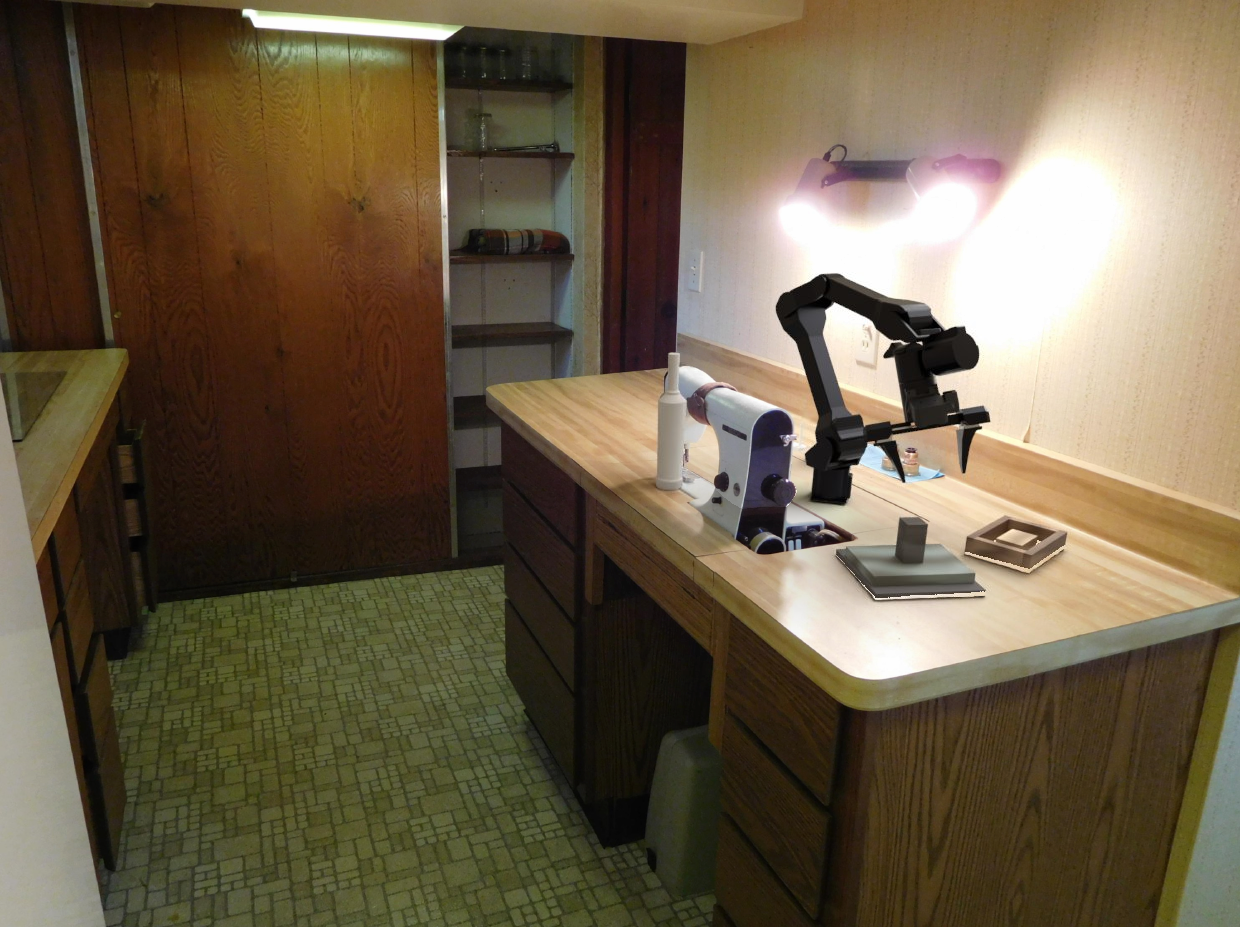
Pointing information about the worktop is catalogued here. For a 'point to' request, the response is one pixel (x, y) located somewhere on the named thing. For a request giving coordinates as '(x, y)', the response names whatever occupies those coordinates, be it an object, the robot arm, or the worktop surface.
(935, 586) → the rubber mat
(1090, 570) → the worktop surface
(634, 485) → the worktop surface
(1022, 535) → the brown wooden flat frame
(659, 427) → the bottle
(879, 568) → the lid
